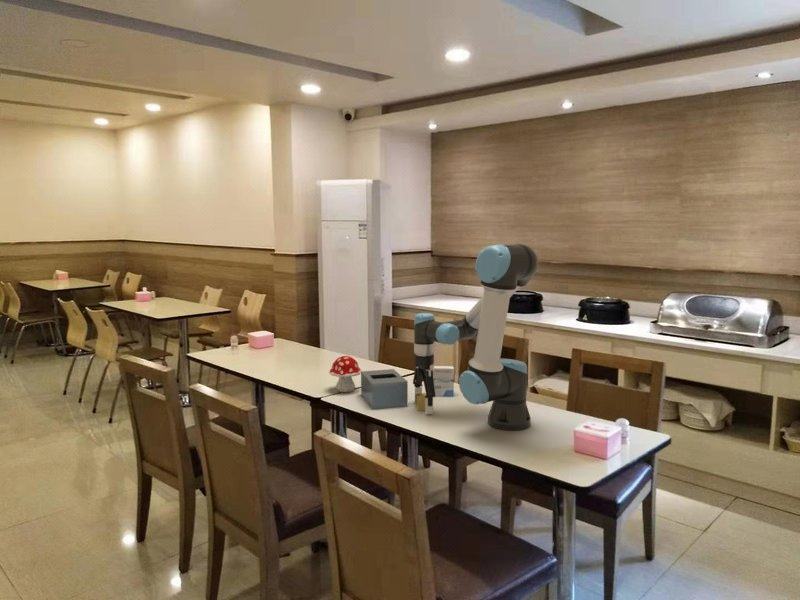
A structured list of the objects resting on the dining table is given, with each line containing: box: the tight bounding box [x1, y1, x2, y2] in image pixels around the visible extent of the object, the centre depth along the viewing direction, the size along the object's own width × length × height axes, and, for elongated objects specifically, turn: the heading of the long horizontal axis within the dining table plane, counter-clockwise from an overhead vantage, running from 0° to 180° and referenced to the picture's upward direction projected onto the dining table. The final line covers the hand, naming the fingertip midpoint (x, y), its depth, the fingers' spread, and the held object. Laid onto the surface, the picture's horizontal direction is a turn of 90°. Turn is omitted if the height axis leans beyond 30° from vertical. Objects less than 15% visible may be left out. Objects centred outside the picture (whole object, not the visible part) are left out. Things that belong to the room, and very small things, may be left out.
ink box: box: [433, 365, 455, 397], centre depth 246 cm, size 8×5×12 cm, turn 84°
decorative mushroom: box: [328, 355, 362, 393], centre depth 251 cm, size 14×14×15 cm
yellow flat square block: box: [414, 392, 426, 412], centre depth 227 cm, size 2×6×6 cm, turn 106°
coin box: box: [360, 368, 409, 410], centre depth 238 cm, size 20×14×10 cm
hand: (423, 408), depth 228 cm, fingers open, 12 cm apart
